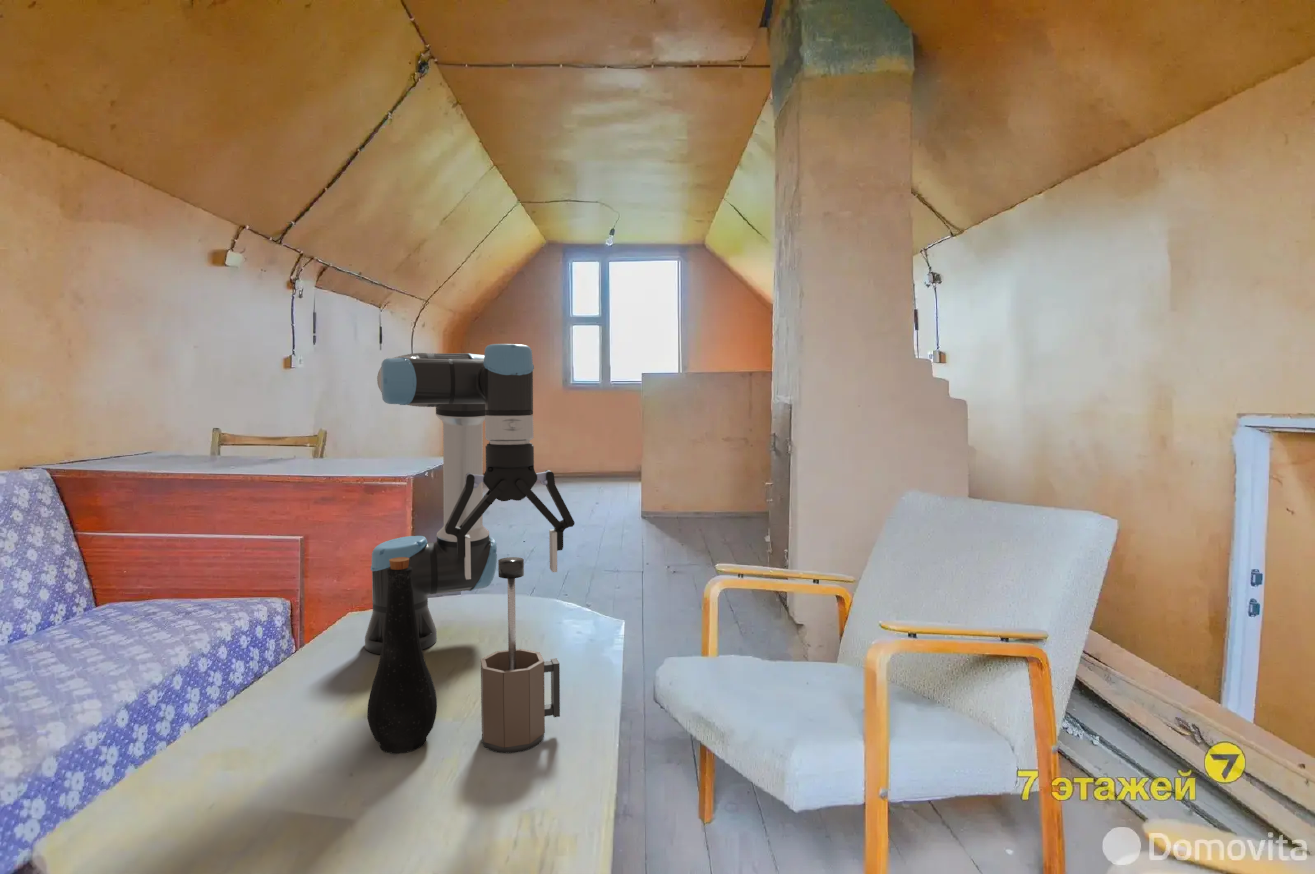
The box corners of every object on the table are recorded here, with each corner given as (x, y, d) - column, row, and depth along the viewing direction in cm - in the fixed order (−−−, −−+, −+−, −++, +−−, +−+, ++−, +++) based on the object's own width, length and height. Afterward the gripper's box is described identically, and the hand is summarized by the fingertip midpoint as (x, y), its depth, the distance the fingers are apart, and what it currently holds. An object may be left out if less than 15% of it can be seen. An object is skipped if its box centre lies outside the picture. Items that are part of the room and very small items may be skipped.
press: (479, 728, 122) (478, 652, 121) (553, 717, 126) (552, 644, 125) (484, 757, 112) (483, 675, 111) (564, 744, 116) (564, 665, 115)
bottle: (416, 762, 111) (412, 569, 109) (354, 755, 113) (348, 565, 111) (449, 730, 121) (446, 553, 119) (392, 724, 123) (387, 550, 121)
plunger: (489, 681, 120) (487, 556, 119) (530, 675, 122) (529, 553, 121) (493, 697, 114) (491, 566, 112) (536, 691, 116) (535, 563, 114)
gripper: (427, 445, 108) (430, 586, 109) (591, 441, 115) (592, 572, 117) (426, 442, 115) (429, 574, 116) (581, 438, 123) (582, 562, 124)
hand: (511, 573), depth 116 cm, fingers open, 13 cm apart
